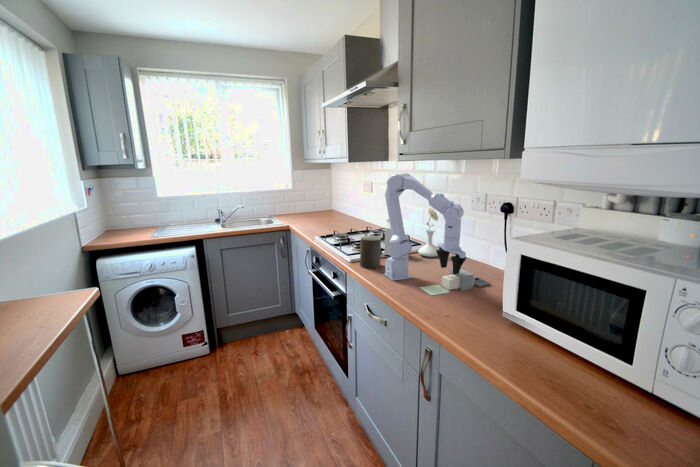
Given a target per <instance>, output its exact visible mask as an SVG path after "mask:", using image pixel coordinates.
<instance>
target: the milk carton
mask: <svg viewBox="0 0 700 467" xmlns="http://www.w3.org/2000/svg"><path fill="white" fill-rule="evenodd" d="M391 237H392V233H391V227H390V221H389V218H388V219H386V222H385V226H384V253H383V254H386V255H389V256H388V257H392V256H391V255H390V253H389V248H390V239H391Z"/></svg>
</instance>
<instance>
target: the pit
mask: <svg viewBox="0 0 700 467" xmlns="http://www.w3.org/2000/svg"><path fill="white" fill-rule="evenodd" d="M488 286H491V282H489V281H487V280H485V279H483V278H482V277H479V276H475V278H474V286H473V287H476V288H482V287H488Z"/></svg>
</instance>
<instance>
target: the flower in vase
mask: <svg viewBox="0 0 700 467" xmlns="http://www.w3.org/2000/svg"><path fill="white" fill-rule="evenodd" d="M427 211H428V215H429V216H430V217H429V219H428V221H426V225H427V226H428V228H426V229H425V232H426V234H427V242H426V244H425V245H423V246H421V247H420V248H419V249H418V251H417V253H418V254H419V255H421V256H423V257H428V258H431V257H433V258H434V257H437V256H438V254H437V252H436V250H439V248H438V247H436V246H435V245H434V244H433V235H434V233H435V232H436V229H433V228H431V227H433V226H435V224H432V225H430V220H431V218H432V219H433V220H434V221H436V222H437V221H439V216H438V214H437V212H436V210H435V209H434V208H432V207H429V208H428V209H427ZM438 257H439V256H438Z"/></svg>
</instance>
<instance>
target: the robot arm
mask: <svg viewBox="0 0 700 467" xmlns="http://www.w3.org/2000/svg"><path fill="white" fill-rule="evenodd" d="M405 190H412V191H413V192H415V193H416V194H418V195H419V196H421V197H423V198H424V199H426V200H427V201H428V205H429V206H430V207H431V208H432V209H433V210H435V211H437V212H438V213H440V214H441V215H442V216H443V218H444V221H445V223H444V235H443V242H441V243H437V249H438V250H436V252H437V254H438V259H439V263H440V264H439V265H440V268H442V269H445V268H447V266H448V261H449V256H450V254H453V256H450V259H451V262H452V269H453V274H459V271H460V268H462V266H463V264H464V262H465V261H466V260H467V252H466V251H464V250H463V249H462V247H461V246H460V241H461V230H462V229H461V226H462V225H461V224H462V219H461V218H462V217H463V216H464V214H465V212H464V209H463V207H462V205H461V204H457V203H455V202H454V201H452V200H449V199H448V198H446V197H445V193H442V192H441V193H440V192H435V193H433V191H432V190H430V189H429V188H428V187H427V186H425V185H424V184H423V183H421V181H419V180H418V179H416V177H415V176H414V175H413V176H412V175H411V174H409V173H406V172H404V173H394V174H392V175H390V176H389V177H388V179H387V180H386V190H385V193H384V198H385V202H386V203H385V204H386V208H387V214H388V219H389V221H390V227H391V233H392V237H391V239H390V248H389V253H390V255H391V256H389V257H387V258H386V259H385V262H384V263H385V265H384V266H385V268H384V269H385V271H384V274H383V275H384V276H386V277H387V278H388V279H389V280H391V281H392V282H393V281H399V280H407V279H412V278H413V276H411V275H410V274H409V256H410V254H409V253H411V251H412V248H413V246H412V244H411V242H410V239H409V236H408V235H407V234H406V233H405V228H404V222H403V220H404V219H403V216H402V210H401V204H400V196H401V195H402V193H403V192H404V191H405Z"/></svg>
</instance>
